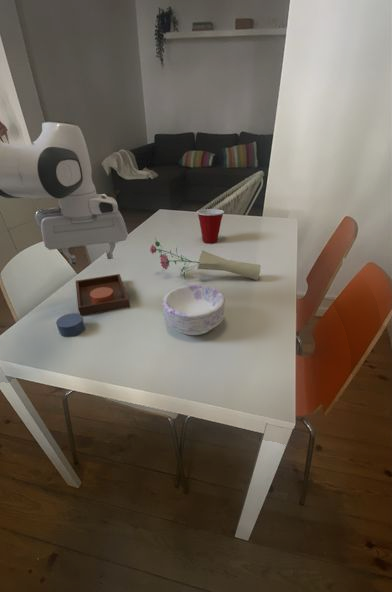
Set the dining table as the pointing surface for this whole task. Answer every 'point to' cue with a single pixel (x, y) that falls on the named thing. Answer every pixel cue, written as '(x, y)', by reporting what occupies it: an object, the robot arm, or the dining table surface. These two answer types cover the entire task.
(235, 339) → the dining table surface
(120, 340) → the dining table surface
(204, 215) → the plastic cup
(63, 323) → the blue short cylinder
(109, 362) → the dining table surface
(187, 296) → the paper bowls
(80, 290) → the tray
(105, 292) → the orange short cylinder
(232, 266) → the flower vase
